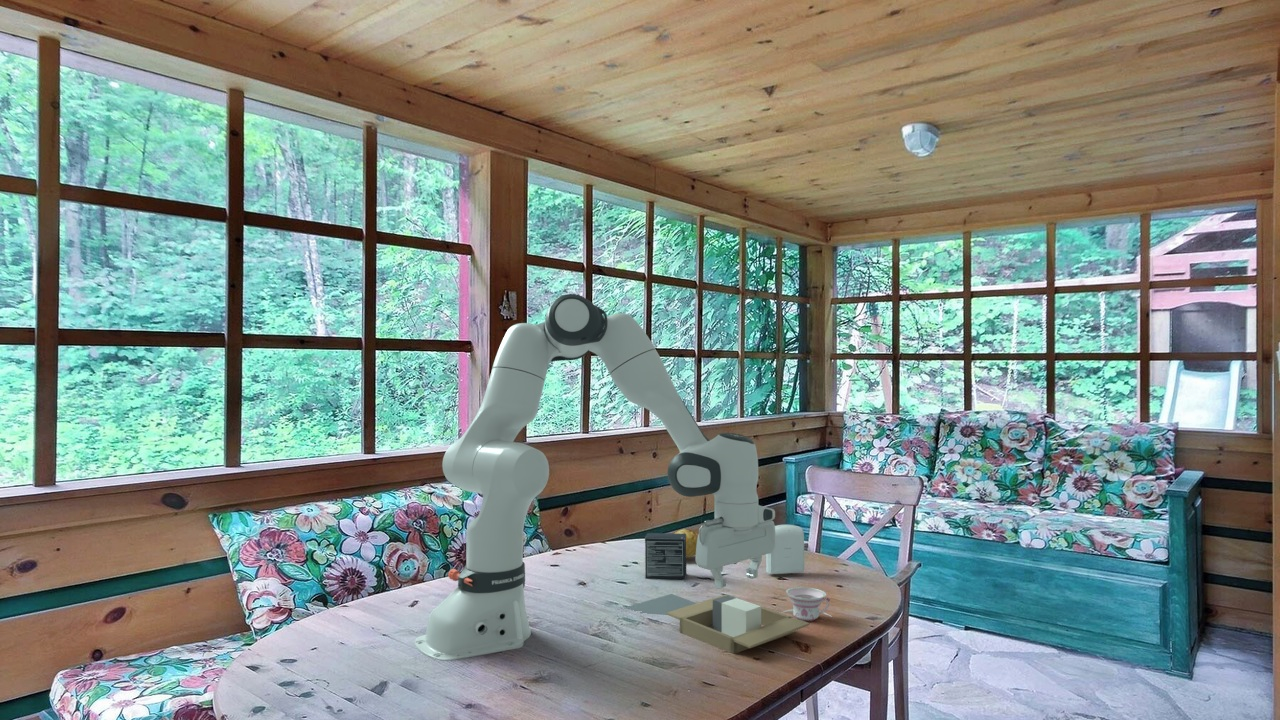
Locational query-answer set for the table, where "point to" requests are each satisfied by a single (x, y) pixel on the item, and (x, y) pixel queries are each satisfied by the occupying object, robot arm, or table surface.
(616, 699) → the table surface
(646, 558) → the small box
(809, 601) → the teacup
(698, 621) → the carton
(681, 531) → the croissant
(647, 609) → the slate mat
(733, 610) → the box
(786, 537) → the photo printer
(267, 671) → the table surface
